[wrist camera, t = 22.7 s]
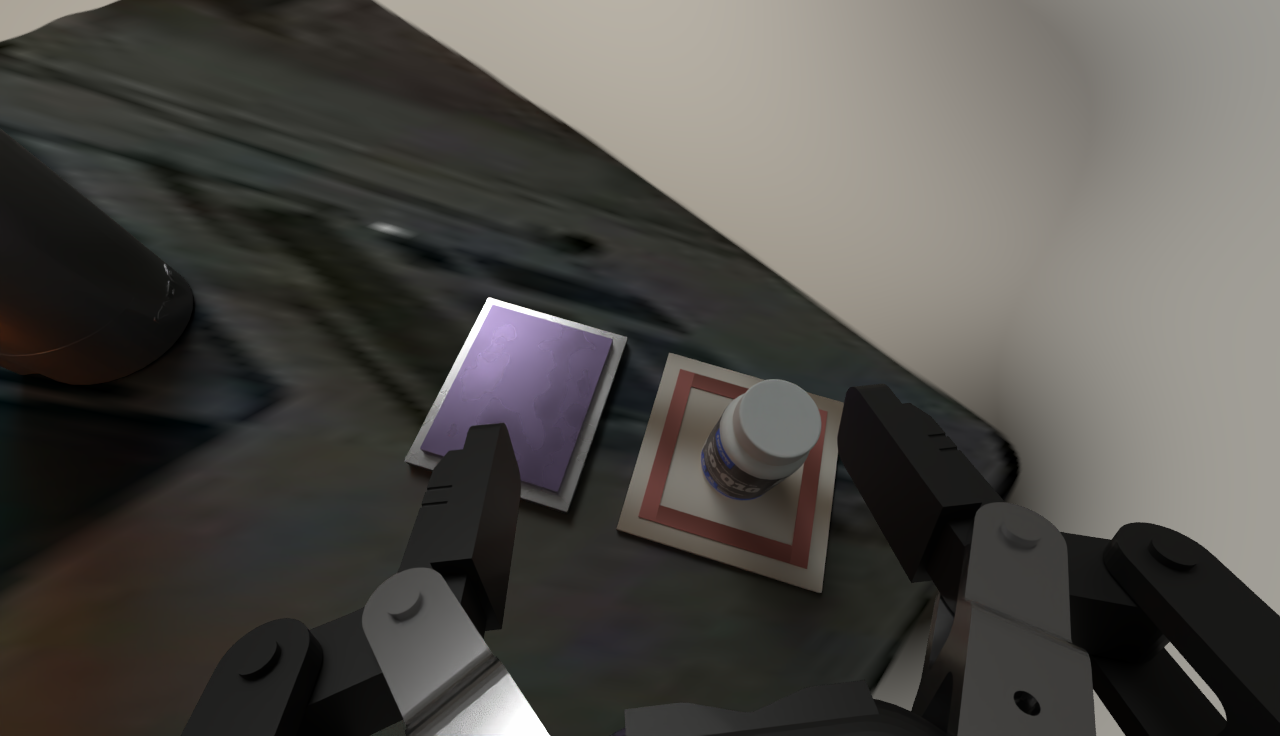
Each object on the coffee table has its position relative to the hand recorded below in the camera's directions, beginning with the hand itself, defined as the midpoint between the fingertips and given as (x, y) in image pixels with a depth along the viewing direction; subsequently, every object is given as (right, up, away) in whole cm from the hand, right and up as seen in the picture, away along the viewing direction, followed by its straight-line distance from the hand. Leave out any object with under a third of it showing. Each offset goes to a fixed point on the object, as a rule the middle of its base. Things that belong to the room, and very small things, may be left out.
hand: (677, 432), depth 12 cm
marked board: (+5, -4, +20) cm, 21 cm away
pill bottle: (+5, -4, +19) cm, 21 cm away
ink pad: (-8, 0, +21) cm, 22 cm away
